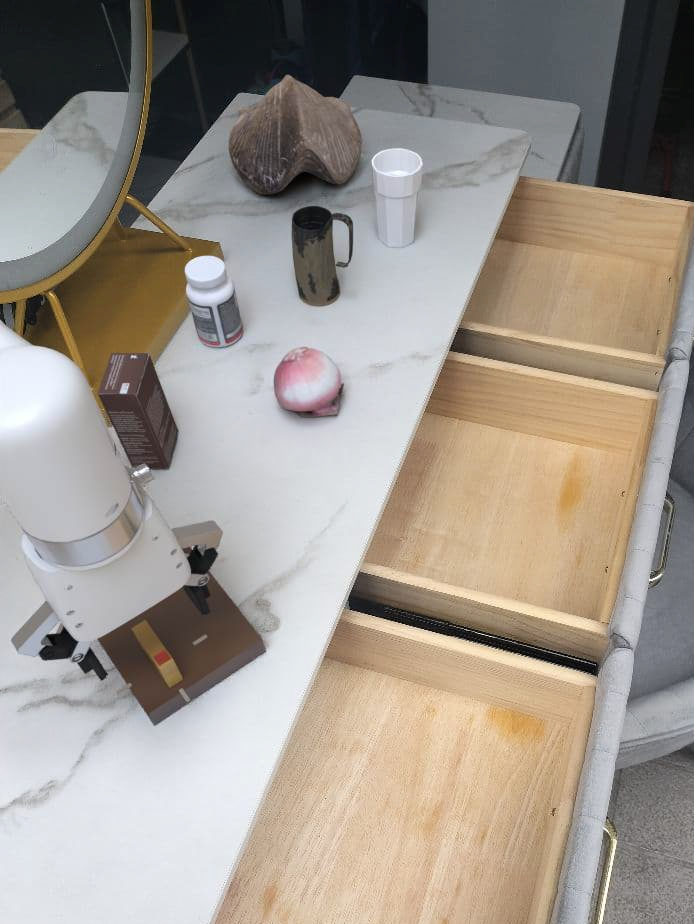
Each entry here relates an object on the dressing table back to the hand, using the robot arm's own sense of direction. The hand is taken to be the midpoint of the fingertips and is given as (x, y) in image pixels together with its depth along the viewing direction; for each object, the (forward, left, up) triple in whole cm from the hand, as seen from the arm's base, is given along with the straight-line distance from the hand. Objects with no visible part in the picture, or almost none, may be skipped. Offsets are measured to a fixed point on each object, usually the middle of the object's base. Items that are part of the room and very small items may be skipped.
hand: (149, 634), depth 69 cm
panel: (-4, +2, -9) cm, 10 cm away
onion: (-21, +30, -9) cm, 38 cm away
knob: (0, 0, -6) cm, 6 cm away
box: (-26, +12, -9) cm, 30 cm away
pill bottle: (-38, +28, -9) cm, 48 cm away
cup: (-40, +58, -9) cm, 71 cm away
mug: (-36, +43, -9) cm, 57 cm away
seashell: (-61, +56, -9) cm, 83 cm away
